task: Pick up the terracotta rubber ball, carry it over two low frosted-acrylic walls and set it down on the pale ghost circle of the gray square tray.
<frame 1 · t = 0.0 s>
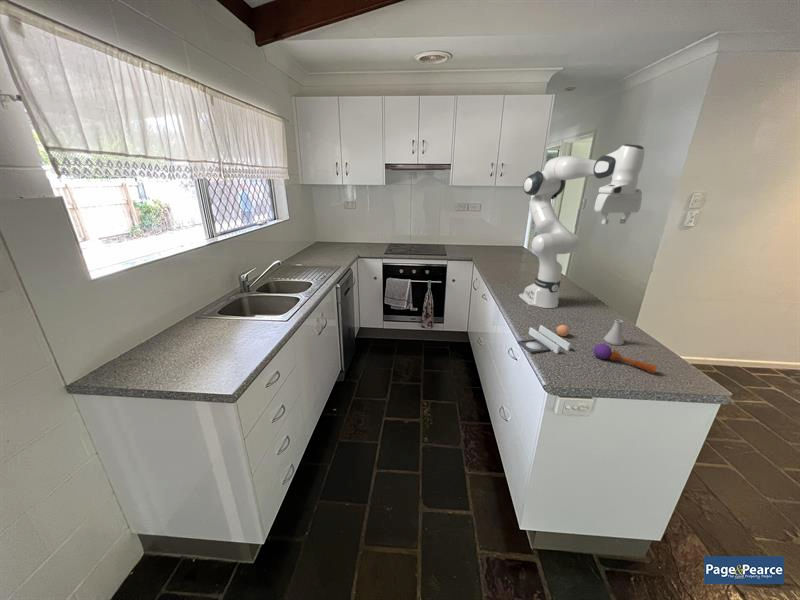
hand: (613, 223, 135), 48 cm above the countertop, fingers open, 8 cm apart
ball: (561, 335, 144), on the countertop
flask: (612, 342, 139), on the countertop
gray square tray: (533, 346, 133), on the countertop
wall b: (542, 343, 137), on the countertop
purple and orange maraca: (621, 364, 123), on the countertop
wall a: (553, 340, 139), on the countertop
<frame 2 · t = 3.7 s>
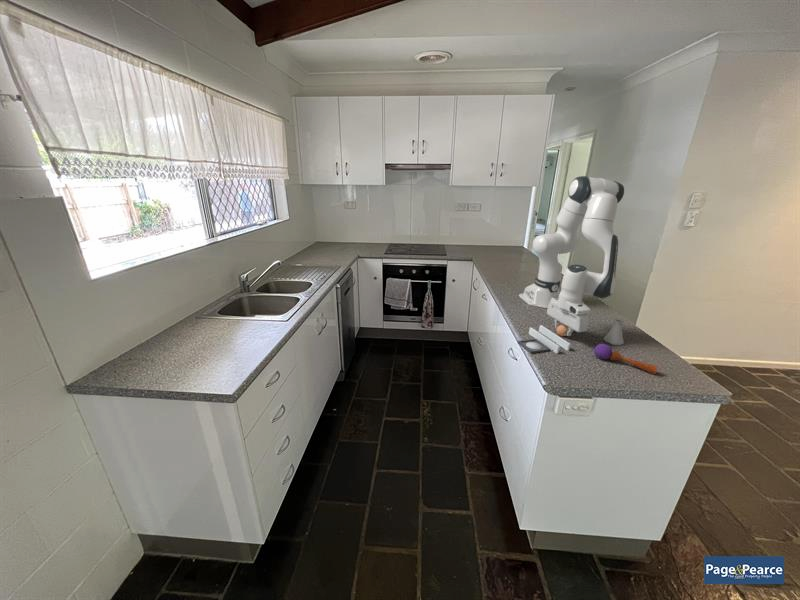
hand: (562, 332, 143), 2 cm above the countertop, fingers closed on ball, 5 cm apart
ball: (561, 335, 144), on the countertop, touching gripper
everything else where it was.
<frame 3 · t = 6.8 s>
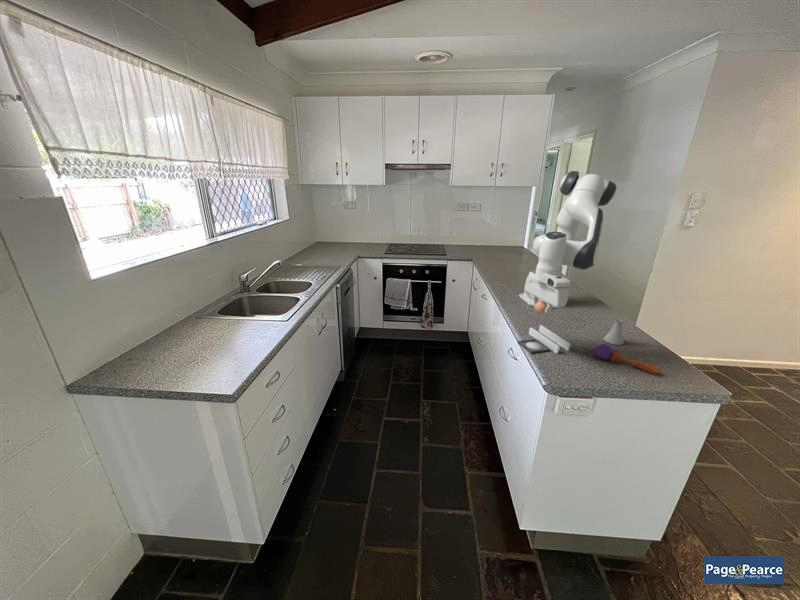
hand: (541, 309, 127), 17 cm above the countertop, fingers closed on ball, 5 cm apart
ball: (540, 313, 128), point 15 cm above the countertop, touching gripper
everything else where it was.
when the fingers open (3 cm above the countertop, at t = 9.6 s): ball drops 1 cm, resting on gray square tray.
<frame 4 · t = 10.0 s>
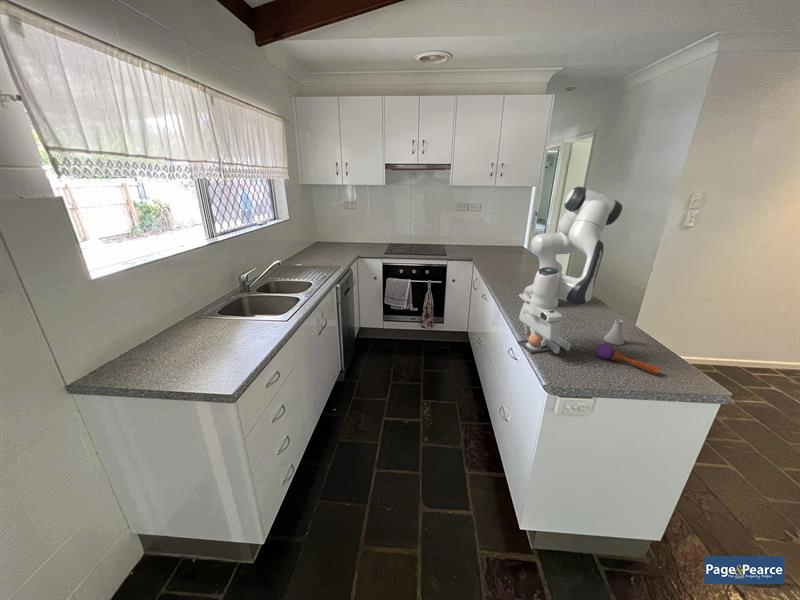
hand: (534, 339, 132), 3 cm above the countertop, fingers open, 8 cm apart
ball: (533, 345, 133), point 1 cm above the countertop, touching gray square tray
everything else where it was.
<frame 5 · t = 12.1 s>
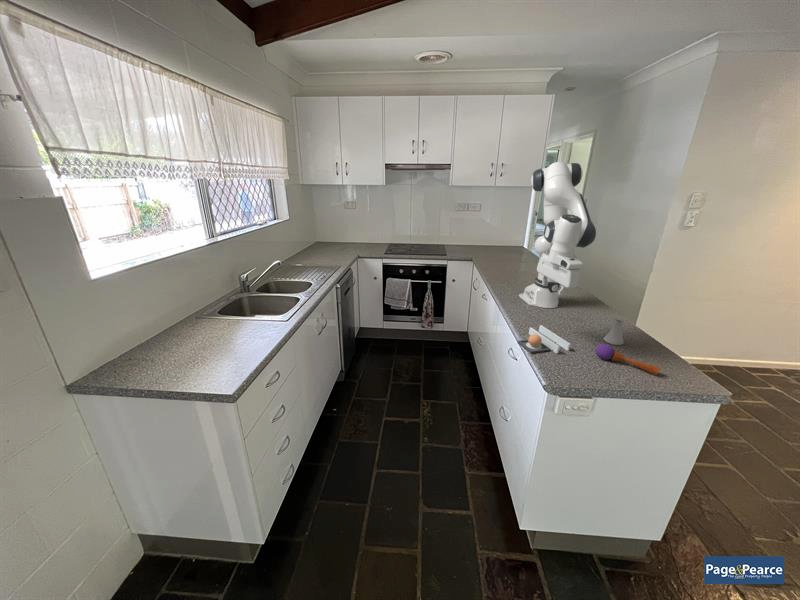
hand: (552, 289, 133), 22 cm above the countertop, fingers open, 8 cm apart
nothing on the countertop moved.
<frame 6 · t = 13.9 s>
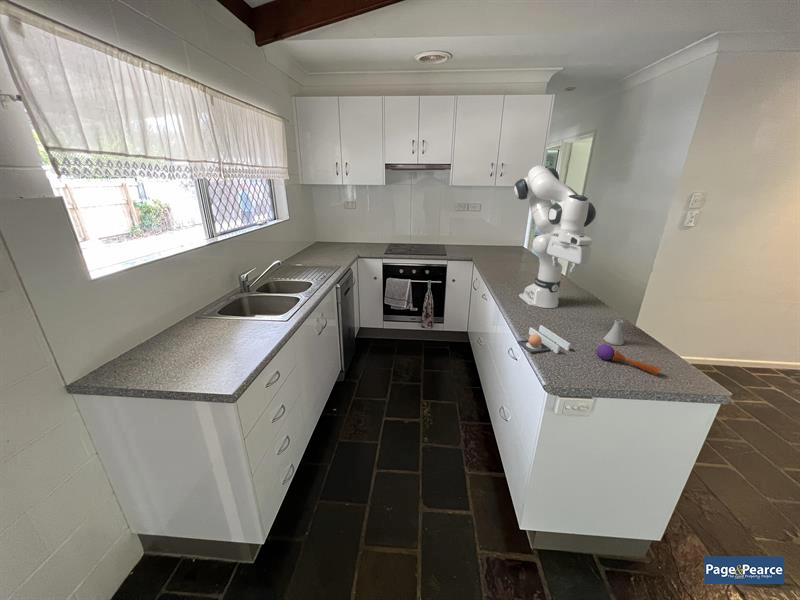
hand: (563, 269, 137), 29 cm above the countertop, fingers open, 8 cm apart
nothing on the countertop moved.
at the end: ball inside the target area on the gray square tray (0.1 cm from its centre), point 0.6 cm above the gray square tray's base; ball point 0.6 cm above the countertop; the gripper is holding nothing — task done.
